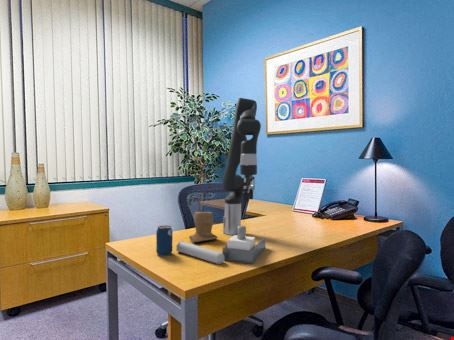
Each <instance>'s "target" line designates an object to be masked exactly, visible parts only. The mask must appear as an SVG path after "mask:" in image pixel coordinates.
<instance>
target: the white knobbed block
mask: <svg viewBox="0 0 454 340" xmlns="http://www.w3.org/2000/svg"><path fill="white" fill-rule="evenodd" d="M255 244H256V237H255V236H247V226H246V225H241V226H238V232H237V235H231V237H230V238H228V239H227V244H226V245H227V248H231V249H239V250H247V251H251V250H252V249H253V248H254V247H255Z"/></svg>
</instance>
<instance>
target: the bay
mask: <svg viewBox="0 0 454 340" xmlns="http://www.w3.org/2000/svg"><path fill="white" fill-rule="evenodd" d="M265 249H266V237H263V238H261V239H260V241H259V242H257V243H255V247H254V248H253V249H252V250H251V251H247V250H239V249H231V248H227V244H226V245H225V246H223V247H222V252H221V253H222V254H223V255H224V257H225V260H224V262H234V263H242V264H249V265H253V264H254V263H255V262H256V261H257V259H258V258H259V257H260V255H261V254H262V253H263V252H264V251H265Z"/></svg>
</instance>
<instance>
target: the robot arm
mask: <svg viewBox="0 0 454 340" xmlns="http://www.w3.org/2000/svg"><path fill="white" fill-rule="evenodd" d="M257 110H258V104H257V101H256V100H254V99H250V98H243V97H238V98H237V100H236V105H235V111H234V121H233V128H232V132H231V138H230V143H229V144H230V145H229V151H228V154H227V155H228V157H227V161H226V164H225V165H226V167H225V169H224V174H223V177H222V180H221V181H222V182H221V185H222V189H223V190H224V192H225V191H226V192H229V194H228V195H227V196H226V197H225V198H224V216H223V222H222V224H223V225H222V227H223V228H222V234H225V235H230V236H234V235H237V232H238V226H242V225H241V224H242V200H243V202H249V201H250V200H253V199H254V190H255V176H256V175H257V174H258V156H257V154H258V153H257V152H258V151H257V148H258V140H259V135H260V133H261V129H262V128H261V127H262V123H261V122H260V121H259V120H258V119H256V116H257V112H258V111H257ZM247 136H252V137H251V138H250V139H248V138H247ZM238 167H239V168H240V169H239V172H240V173H239V174H237V170H238ZM242 176H244V177H242Z"/></svg>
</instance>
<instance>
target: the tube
mask: <svg viewBox="0 0 454 340" xmlns="http://www.w3.org/2000/svg"><path fill="white" fill-rule="evenodd" d="M176 252H178V253H182V254H185V255H187V256H191V257H194V258H198V259H199V260H204V261H207V262H210V263H212V264H216V265H221V264H223V263H224V262H225V257H224V255H223V254H222V252H221V251H217V250H214V249H212V248H211V249H210V248H207V247H203V246H200V245H197V244H194V243H189V242H186V241H184V240H180V241H178V242H177V244H176Z"/></svg>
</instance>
